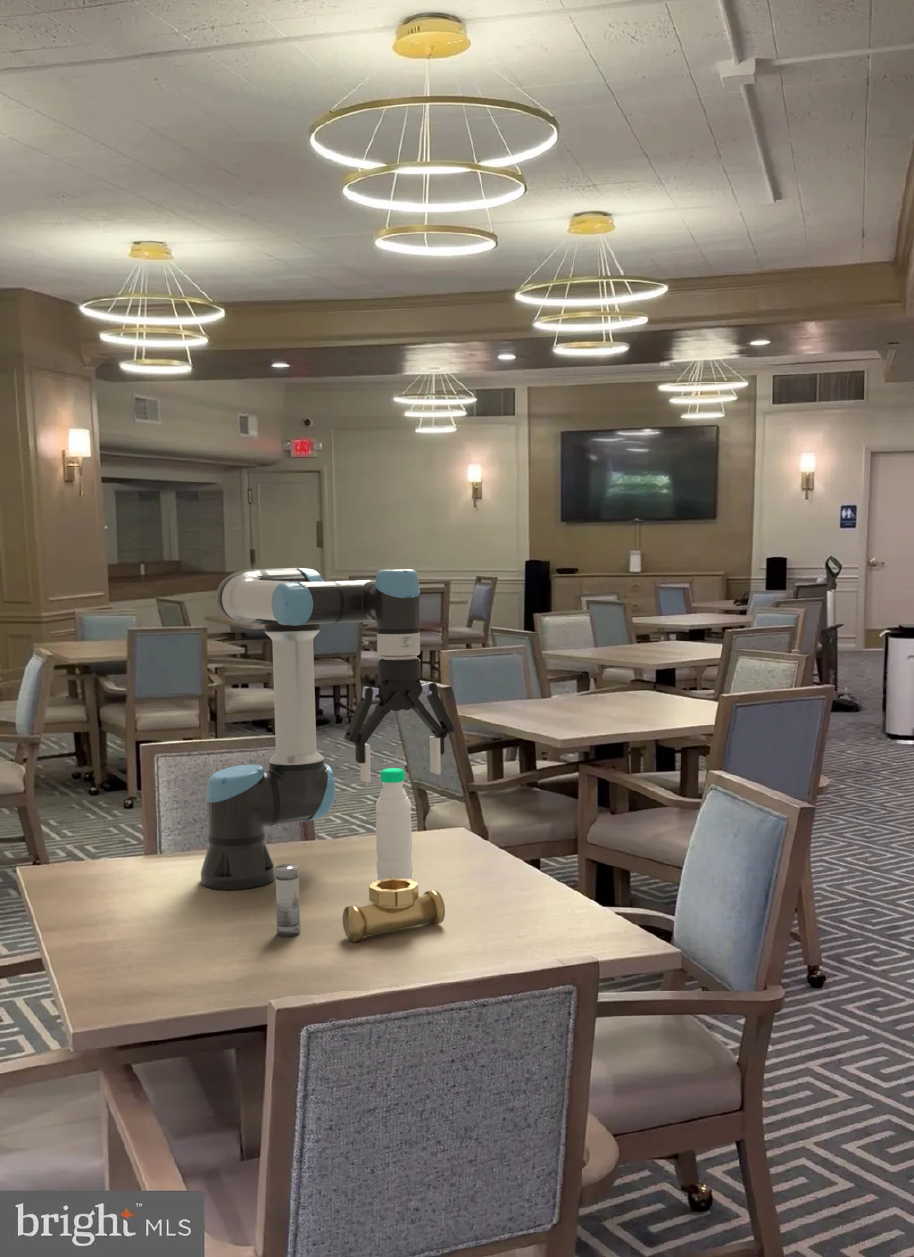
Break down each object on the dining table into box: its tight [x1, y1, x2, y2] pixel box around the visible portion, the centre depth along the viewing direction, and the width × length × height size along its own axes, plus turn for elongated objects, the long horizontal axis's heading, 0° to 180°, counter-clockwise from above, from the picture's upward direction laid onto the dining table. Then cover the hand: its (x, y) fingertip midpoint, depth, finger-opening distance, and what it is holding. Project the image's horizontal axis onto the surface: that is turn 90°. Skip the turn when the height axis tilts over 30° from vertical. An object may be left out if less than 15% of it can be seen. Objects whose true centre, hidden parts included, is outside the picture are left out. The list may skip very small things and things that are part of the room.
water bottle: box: [375, 767, 413, 881], centre depth 224 cm, size 7×7×25 cm
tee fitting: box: [342, 878, 446, 943], centre depth 202 cm, size 17×8×8 cm, turn 122°
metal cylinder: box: [274, 863, 301, 938], centre depth 202 cm, size 4×4×12 cm
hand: (401, 777), depth 200 cm, fingers open, 13 cm apart
